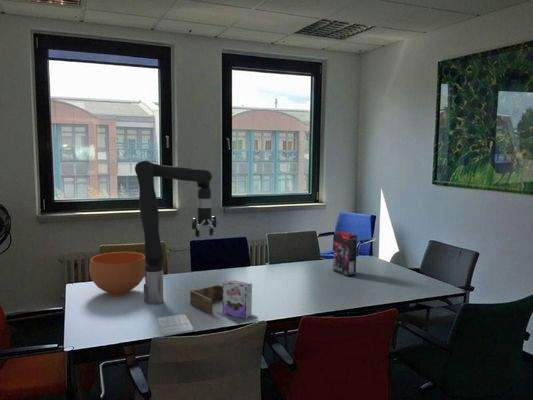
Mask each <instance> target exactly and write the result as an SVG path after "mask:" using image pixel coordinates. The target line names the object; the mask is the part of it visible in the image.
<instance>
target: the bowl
mask: <svg viewBox="0 0 533 400" xmlns="http://www.w3.org/2000/svg"><path fill="white" fill-rule="evenodd" d="M88 264H89V266H88V271H89V273H88V274H89V276H90V278H91V281H92V282H93V283H94V284H95V286H96V287H97V288H98V289H100V290H102V291H103V292H105V293H107V294H108V296H109V297H115V298H116V297H117V298H118V297H123V296H127V295H129V294H130V292H131V291H132V290H133V289H135V288H136V287H138V286H139V285H140V284H141V282H142V281H143V279H145V254H144V253H140V252H139V253H138V252H135V251H115V252H107V253H102V254H97V255H95V256H92V257H91V258H90V259H89V263H88Z"/></svg>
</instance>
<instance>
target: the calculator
mask: <svg viewBox="0 0 533 400" xmlns="http://www.w3.org/2000/svg"><path fill="white" fill-rule="evenodd" d="M157 322H158V325H159V327H160V330H161V331H162V332H161V333H162V334H163V336H172V335H178V334H185V333H193V332H194V327H193V325H192V324H191V322H190V321H189V319H188V317H187V316H186V314H175V315H170V316H169V315H168V316H166V315H165V316H160V317H158V318H157Z"/></svg>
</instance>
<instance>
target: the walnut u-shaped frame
mask: <svg viewBox="0 0 533 400" xmlns="http://www.w3.org/2000/svg"><path fill="white" fill-rule="evenodd" d="M189 294H190V302H189V304H190V305H192V306H193V307H195V308H198V309H200V310H202V311H203V312H206V313H208V314H210V315H211V314H213V300H214V299H220V300H222V301H223V285H221V284H217V285H211V286H207V287H201V288H197V289H193V290H190V293H189Z"/></svg>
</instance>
